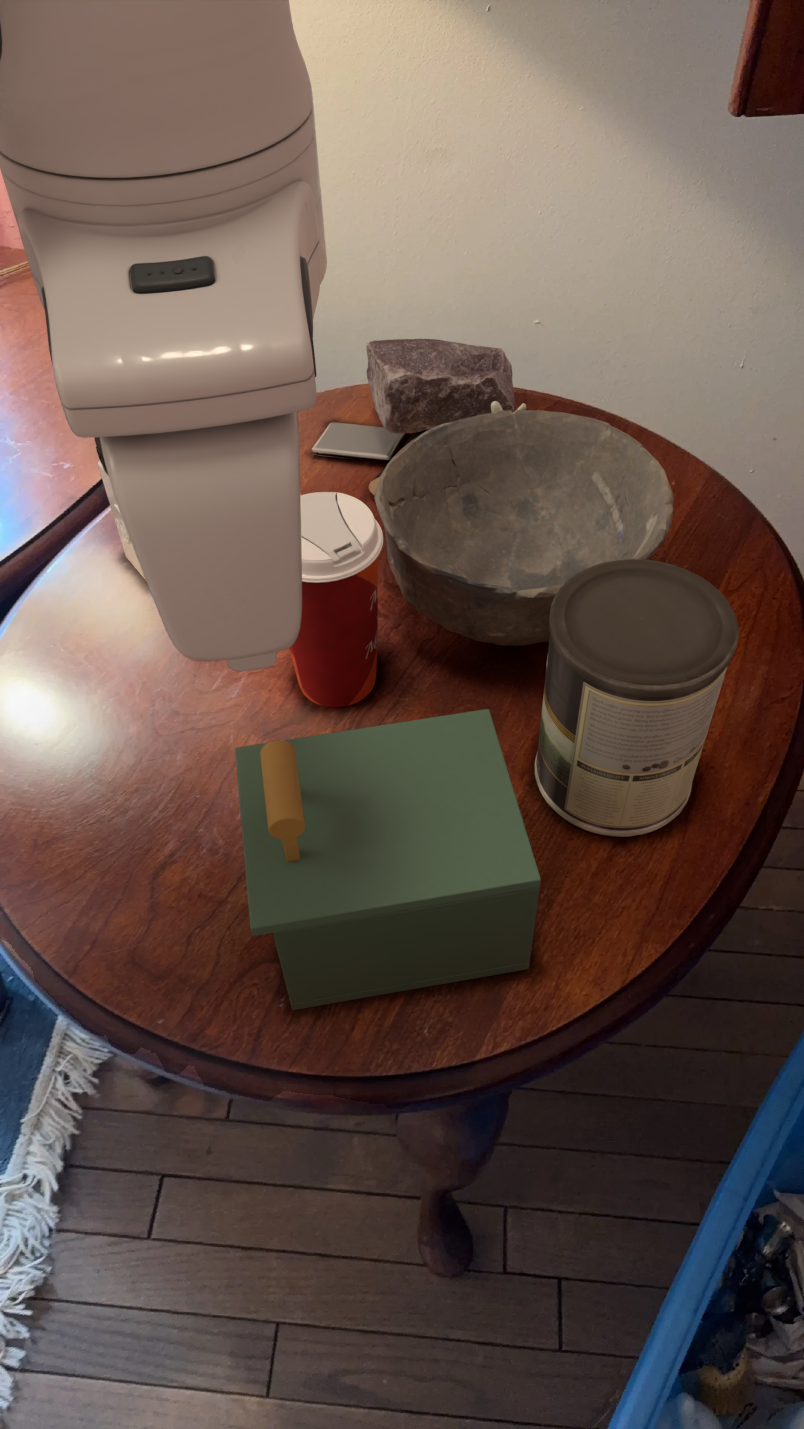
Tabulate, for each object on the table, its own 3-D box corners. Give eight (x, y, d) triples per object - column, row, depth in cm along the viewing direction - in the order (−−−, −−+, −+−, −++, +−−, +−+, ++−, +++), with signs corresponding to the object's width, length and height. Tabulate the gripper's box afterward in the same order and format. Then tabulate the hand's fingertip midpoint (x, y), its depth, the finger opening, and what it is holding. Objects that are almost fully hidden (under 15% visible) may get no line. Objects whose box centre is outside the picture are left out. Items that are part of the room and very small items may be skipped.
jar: (111, 545, 85) (71, 417, 76) (199, 506, 88) (171, 379, 79) (161, 605, 80) (125, 476, 71) (253, 562, 83) (229, 433, 74)
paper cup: (412, 687, 73) (406, 532, 63) (319, 736, 71) (297, 583, 60) (352, 625, 78) (338, 470, 67) (263, 668, 75) (234, 514, 64)
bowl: (539, 480, 88) (548, 374, 81) (711, 617, 77) (741, 510, 69) (330, 573, 81) (318, 468, 74) (486, 741, 70) (491, 636, 62)
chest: (292, 1011, 58) (272, 933, 51) (273, 840, 65) (254, 753, 59) (529, 969, 59) (540, 888, 52) (484, 806, 67) (488, 717, 60)
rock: (527, 377, 97) (535, 256, 83) (505, 510, 92) (511, 405, 78) (381, 363, 99) (366, 241, 85) (353, 493, 94) (332, 386, 80)
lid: (252, 936, 51) (237, 885, 47) (236, 756, 59) (222, 699, 55) (540, 888, 52) (547, 834, 49) (488, 717, 60) (491, 659, 56)
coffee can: (501, 775, 68) (511, 621, 57) (599, 691, 73) (626, 534, 62) (627, 868, 63) (664, 719, 52) (724, 772, 68) (776, 616, 57)
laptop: (388, 446, 88) (390, 467, 90) (407, 415, 92) (408, 436, 94) (309, 438, 90) (312, 458, 92) (331, 408, 94) (333, 428, 95)
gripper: (77, 103, 37) (158, 433, 48) (50, 424, 24) (170, 783, 34) (253, 86, 38) (294, 416, 48) (320, 390, 24) (357, 754, 35)
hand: (243, 572), depth 41 cm, fingers open, 8 cm apart
